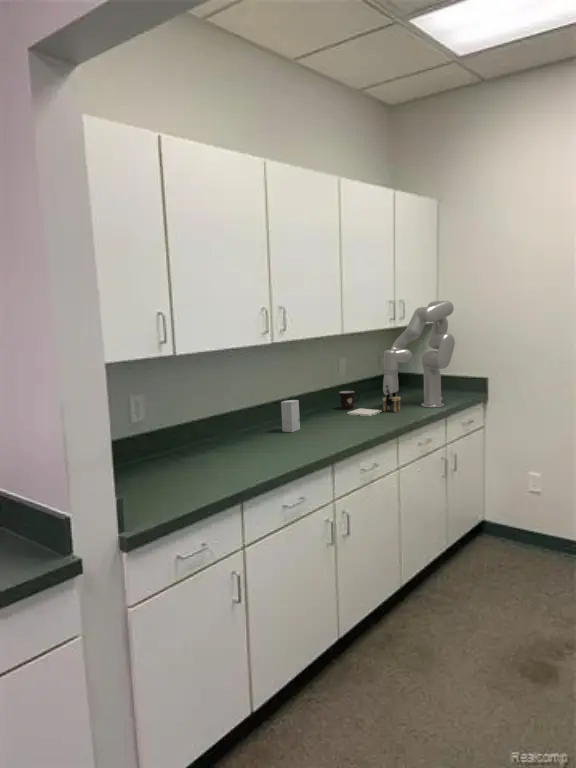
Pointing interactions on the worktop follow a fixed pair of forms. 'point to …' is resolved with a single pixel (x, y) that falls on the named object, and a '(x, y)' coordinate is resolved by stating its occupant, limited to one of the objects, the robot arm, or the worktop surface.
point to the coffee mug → (347, 399)
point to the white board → (364, 412)
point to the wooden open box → (394, 403)
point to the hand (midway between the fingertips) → (391, 404)
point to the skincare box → (290, 415)
